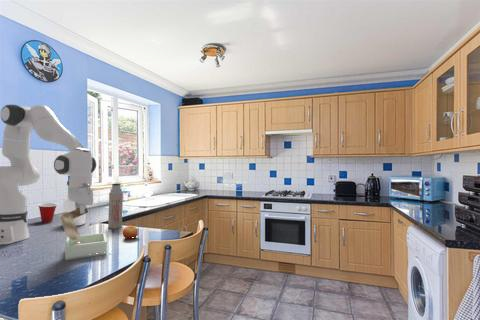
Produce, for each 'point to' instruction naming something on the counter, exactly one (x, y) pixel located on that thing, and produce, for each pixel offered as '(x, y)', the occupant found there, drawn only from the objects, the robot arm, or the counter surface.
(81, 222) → the white jar
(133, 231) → the fruit
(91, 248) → the bin
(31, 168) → the robot arm
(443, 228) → the counter surface
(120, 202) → the thermos bottle
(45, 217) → the plastic cup
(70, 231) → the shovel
